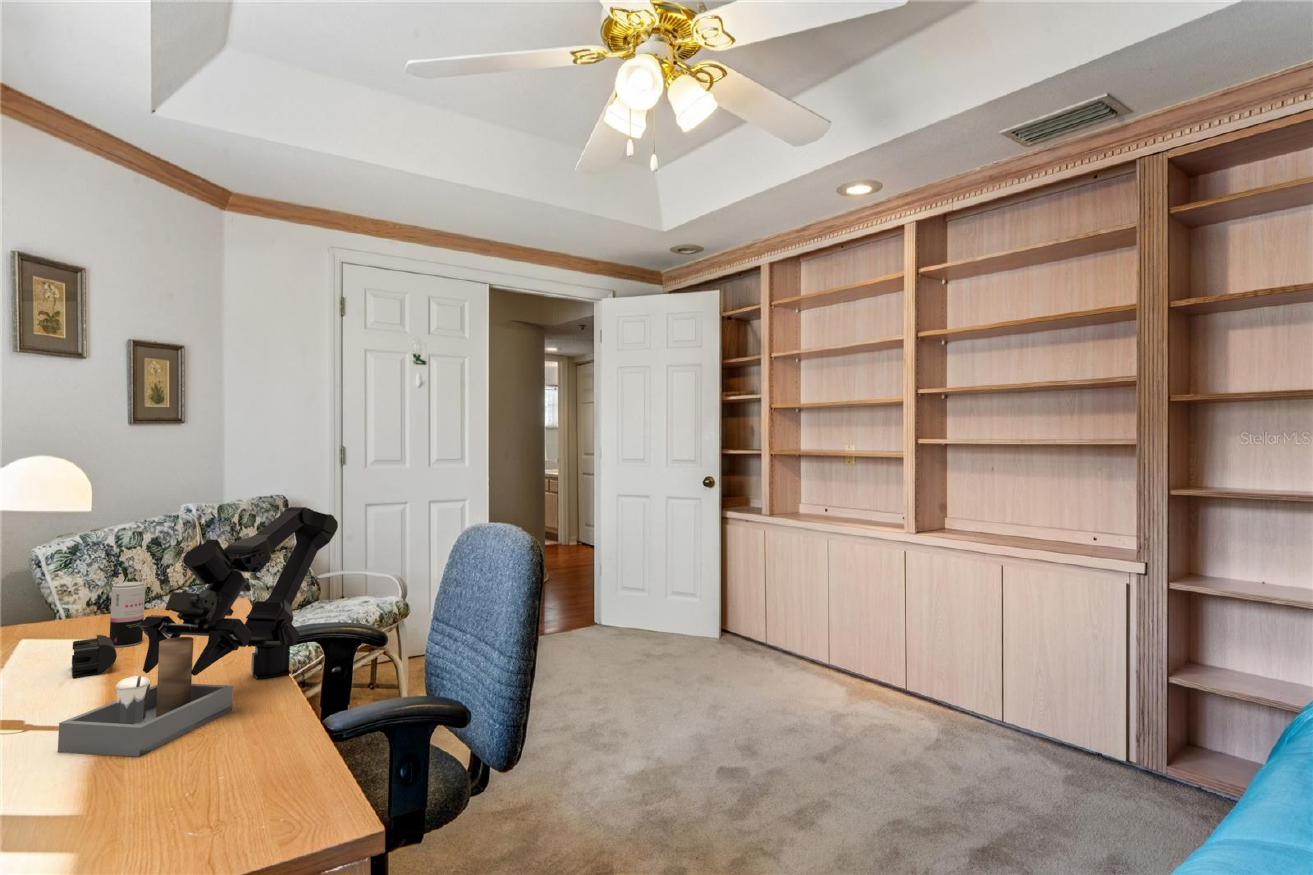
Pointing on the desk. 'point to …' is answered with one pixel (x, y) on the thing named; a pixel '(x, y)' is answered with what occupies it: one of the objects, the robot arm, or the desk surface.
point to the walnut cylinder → (174, 674)
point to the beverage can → (127, 613)
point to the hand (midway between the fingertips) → (168, 673)
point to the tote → (110, 738)
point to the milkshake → (132, 700)
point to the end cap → (92, 656)
